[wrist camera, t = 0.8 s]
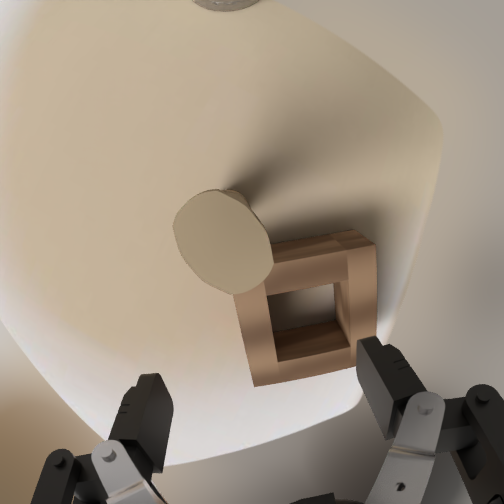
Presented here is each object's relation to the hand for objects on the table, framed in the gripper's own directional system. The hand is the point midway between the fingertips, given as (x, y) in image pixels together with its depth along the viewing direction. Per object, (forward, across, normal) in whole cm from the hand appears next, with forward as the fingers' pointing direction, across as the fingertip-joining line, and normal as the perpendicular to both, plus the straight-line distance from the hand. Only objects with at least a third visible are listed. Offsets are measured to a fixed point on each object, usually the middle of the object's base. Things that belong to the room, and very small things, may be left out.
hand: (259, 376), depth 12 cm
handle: (+23, +1, -3) cm, 23 cm away
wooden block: (+22, -5, +9) cm, 25 cm away
